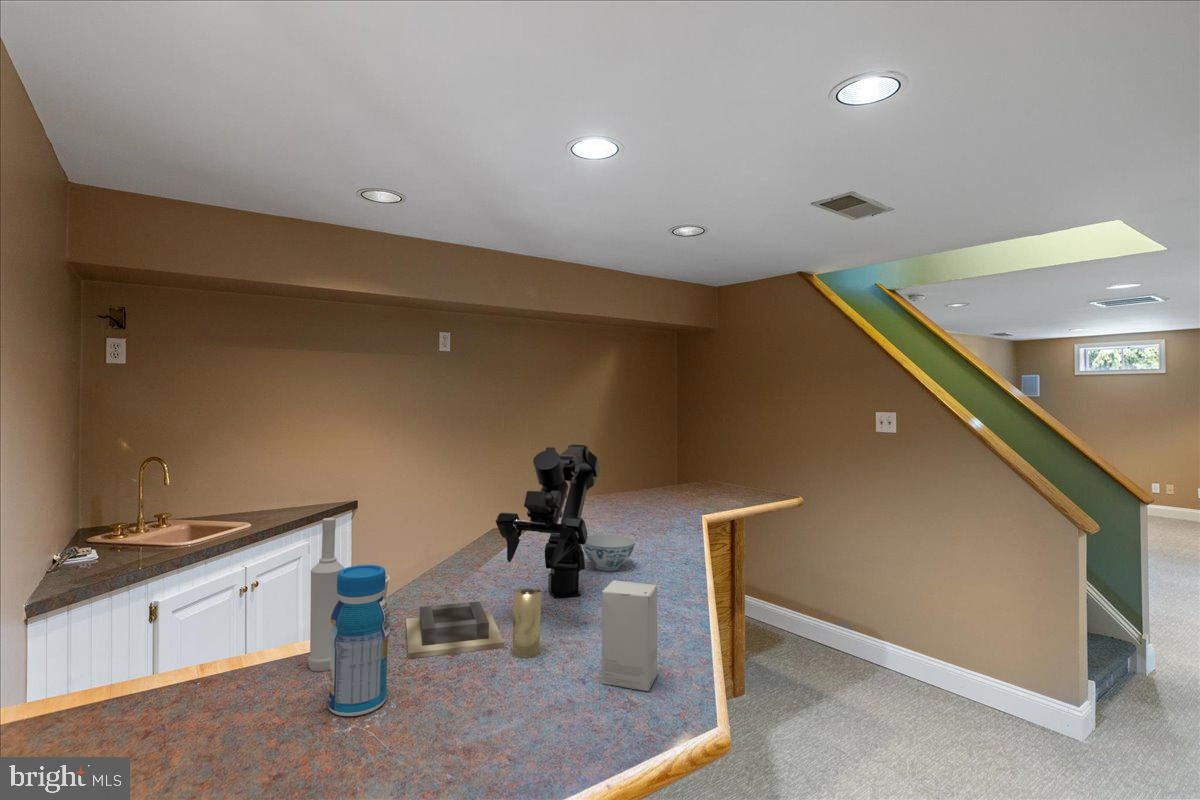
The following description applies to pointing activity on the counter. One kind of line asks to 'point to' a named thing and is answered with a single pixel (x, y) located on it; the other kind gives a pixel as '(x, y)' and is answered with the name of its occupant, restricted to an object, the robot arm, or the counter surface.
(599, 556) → the chinaware
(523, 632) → the cylinder
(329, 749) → the counter surface
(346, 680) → the beverage bottle
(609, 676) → the skincare box
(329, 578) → the bottle
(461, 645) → the jig plate
